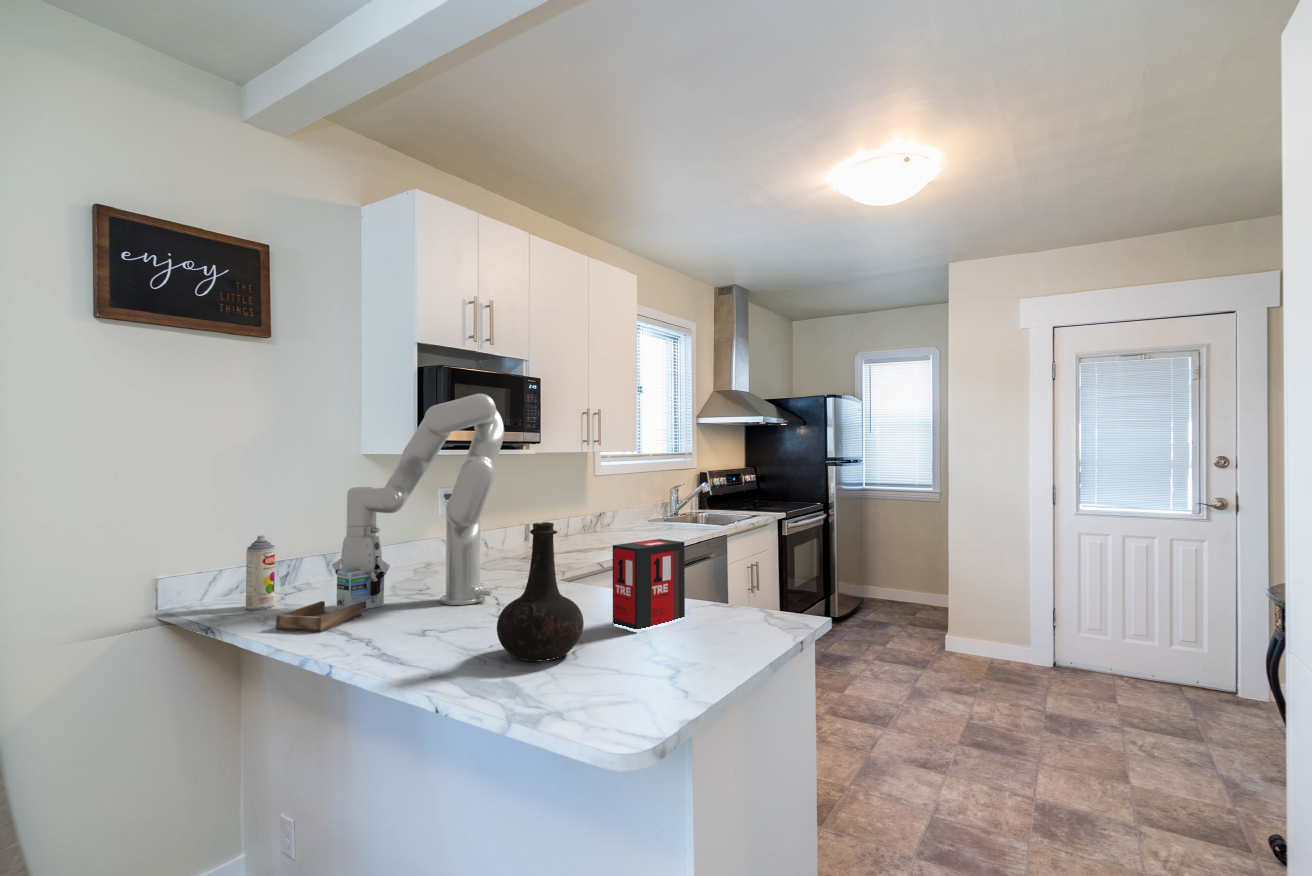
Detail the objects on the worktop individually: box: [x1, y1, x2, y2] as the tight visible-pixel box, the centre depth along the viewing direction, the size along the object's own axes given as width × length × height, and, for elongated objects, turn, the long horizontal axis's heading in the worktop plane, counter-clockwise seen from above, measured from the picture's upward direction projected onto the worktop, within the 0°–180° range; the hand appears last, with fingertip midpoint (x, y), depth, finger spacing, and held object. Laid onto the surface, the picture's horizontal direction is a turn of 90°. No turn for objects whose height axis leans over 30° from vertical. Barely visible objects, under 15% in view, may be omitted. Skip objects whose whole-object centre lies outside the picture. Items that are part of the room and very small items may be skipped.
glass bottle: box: [496, 521, 585, 661], centre depth 137 cm, size 18×18×28 cm
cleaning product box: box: [612, 538, 686, 629], centre depth 162 cm, size 16×9×20 cm, turn 134°
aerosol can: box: [245, 534, 276, 611], centre depth 180 cm, size 7×7×20 cm
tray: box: [275, 600, 363, 633], centre depth 163 cm, size 12×16×4 cm
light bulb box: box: [336, 569, 385, 611], centre depth 180 cm, size 11×7×11 cm, turn 149°
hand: (360, 594), depth 180 cm, fingers closed on light bulb box, 8 cm apart
